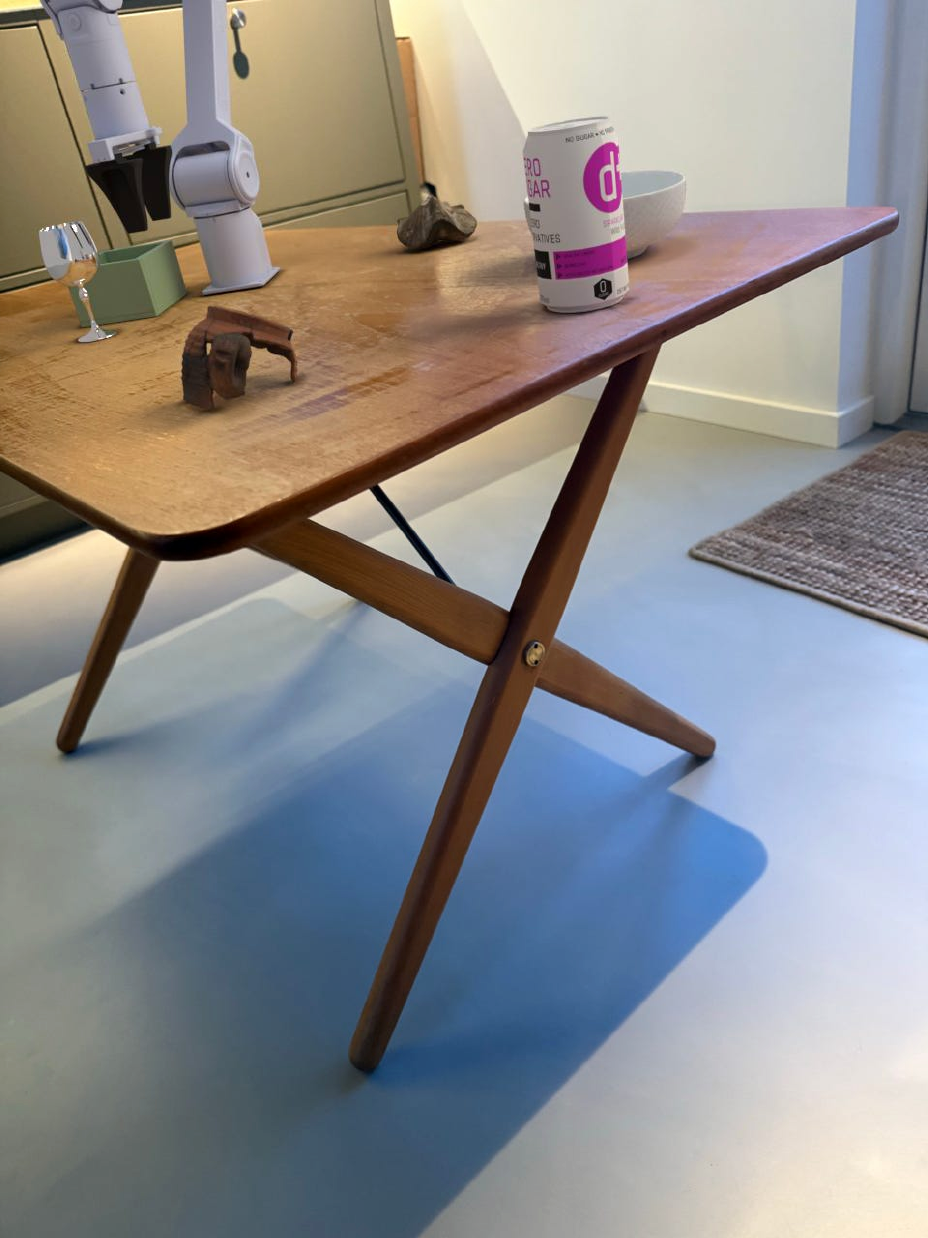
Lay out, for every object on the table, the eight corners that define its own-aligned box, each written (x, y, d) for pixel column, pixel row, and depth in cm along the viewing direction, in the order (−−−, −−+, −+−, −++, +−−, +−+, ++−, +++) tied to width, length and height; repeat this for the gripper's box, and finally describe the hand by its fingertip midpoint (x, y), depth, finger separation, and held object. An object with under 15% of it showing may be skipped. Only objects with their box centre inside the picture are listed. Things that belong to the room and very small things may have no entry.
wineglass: (105, 341, 112) (67, 228, 106) (62, 345, 113) (22, 234, 107) (132, 326, 116) (97, 217, 110) (91, 331, 118) (54, 223, 112)
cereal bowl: (501, 276, 108) (492, 206, 104) (577, 239, 119) (571, 175, 116) (646, 274, 99) (641, 197, 95) (713, 234, 110) (711, 164, 106)
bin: (117, 303, 131) (100, 251, 127) (187, 293, 129) (172, 239, 126) (81, 327, 121) (62, 271, 118) (156, 316, 119) (139, 259, 116)
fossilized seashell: (476, 212, 133) (405, 237, 135) (461, 171, 127) (387, 197, 129) (484, 251, 129) (411, 276, 131) (468, 210, 124) (392, 237, 126)
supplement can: (647, 291, 93) (635, 111, 85) (593, 317, 88) (576, 129, 81) (577, 288, 98) (560, 119, 91) (523, 312, 93) (500, 135, 86)
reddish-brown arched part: (179, 397, 89) (198, 303, 87) (285, 425, 91) (306, 333, 89) (162, 400, 77) (184, 292, 76) (284, 432, 79) (308, 327, 78)
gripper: (119, 83, 96) (162, 231, 103) (168, 76, 109) (204, 208, 116) (51, 96, 98) (98, 242, 104) (108, 87, 110) (147, 218, 117)
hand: (150, 225), depth 110 cm, fingers open, 7 cm apart
